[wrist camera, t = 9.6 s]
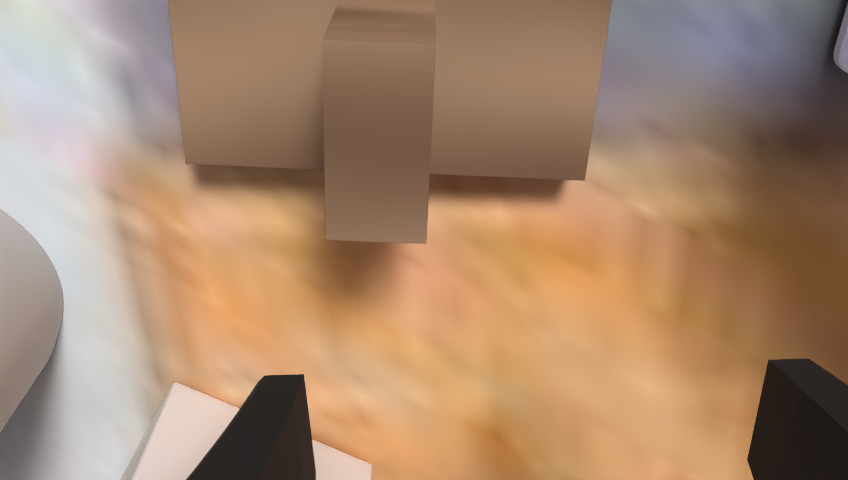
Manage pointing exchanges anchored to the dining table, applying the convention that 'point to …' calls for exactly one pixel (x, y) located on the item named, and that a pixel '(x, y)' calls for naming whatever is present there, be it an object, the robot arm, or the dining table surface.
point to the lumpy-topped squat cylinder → (25, 313)
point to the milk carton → (211, 441)
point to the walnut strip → (389, 95)
